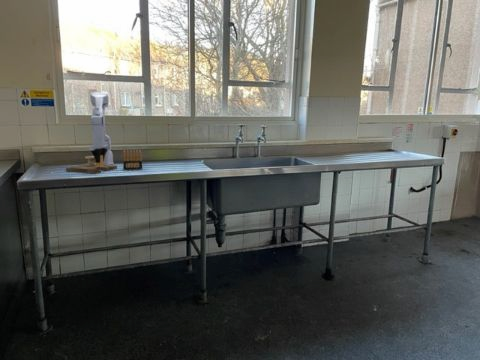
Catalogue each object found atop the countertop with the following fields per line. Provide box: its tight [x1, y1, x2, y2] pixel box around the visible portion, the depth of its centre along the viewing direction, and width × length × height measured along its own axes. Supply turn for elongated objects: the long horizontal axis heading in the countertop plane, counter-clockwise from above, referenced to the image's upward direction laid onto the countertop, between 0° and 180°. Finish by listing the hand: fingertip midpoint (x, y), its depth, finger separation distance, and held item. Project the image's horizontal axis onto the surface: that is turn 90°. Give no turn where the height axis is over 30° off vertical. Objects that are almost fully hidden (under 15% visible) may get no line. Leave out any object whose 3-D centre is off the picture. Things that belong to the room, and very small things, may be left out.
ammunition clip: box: [122, 148, 143, 171], centre depth 209 cm, size 11×2×12 cm, turn 110°
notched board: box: [65, 162, 118, 175], centre depth 205 cm, size 18×20×2 cm
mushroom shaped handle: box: [84, 155, 96, 166], centre depth 208 cm, size 6×6×5 cm
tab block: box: [94, 155, 104, 167], centre depth 199 cm, size 3×3×6 cm
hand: (99, 162), depth 199 cm, fingers closed on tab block, 3 cm apart
